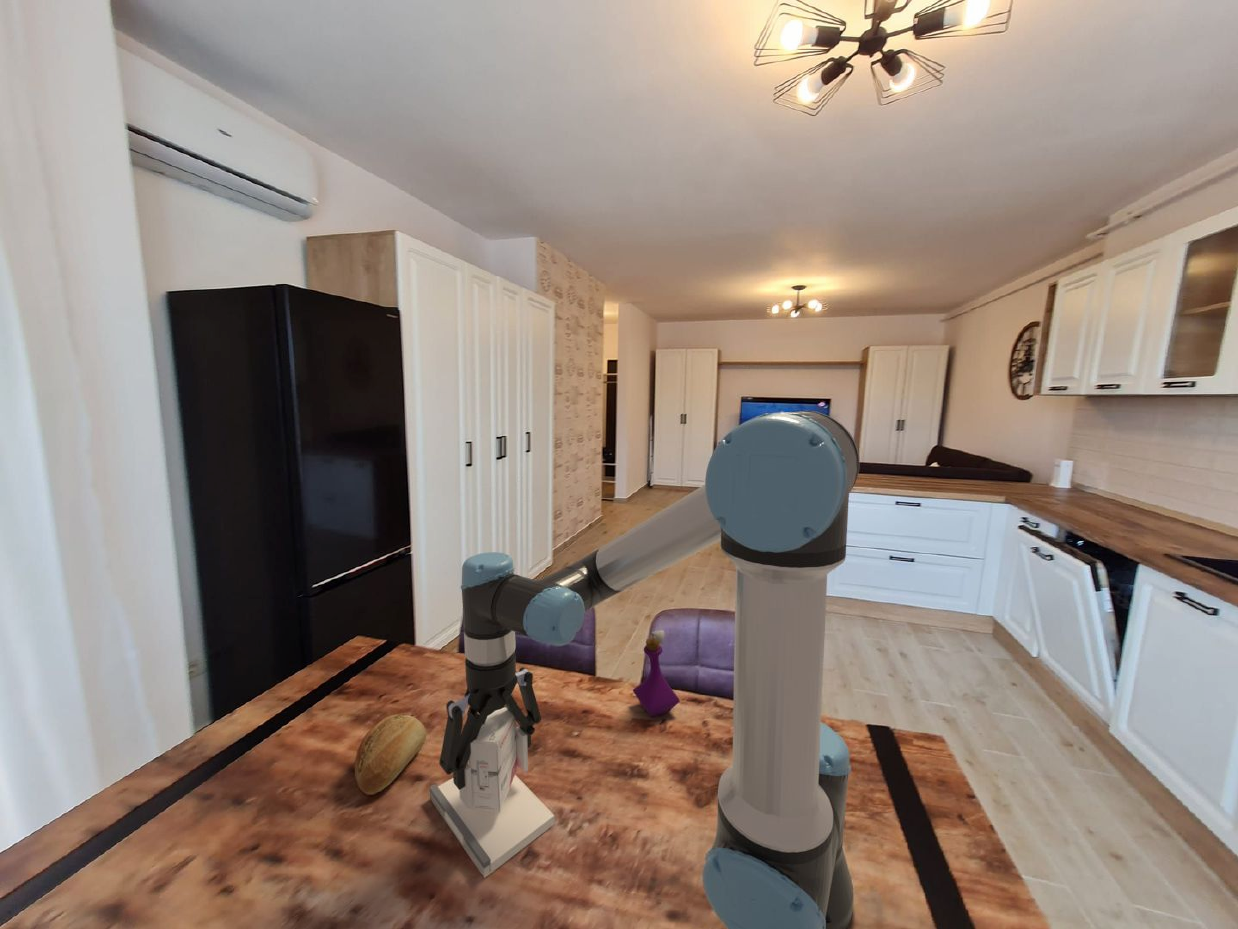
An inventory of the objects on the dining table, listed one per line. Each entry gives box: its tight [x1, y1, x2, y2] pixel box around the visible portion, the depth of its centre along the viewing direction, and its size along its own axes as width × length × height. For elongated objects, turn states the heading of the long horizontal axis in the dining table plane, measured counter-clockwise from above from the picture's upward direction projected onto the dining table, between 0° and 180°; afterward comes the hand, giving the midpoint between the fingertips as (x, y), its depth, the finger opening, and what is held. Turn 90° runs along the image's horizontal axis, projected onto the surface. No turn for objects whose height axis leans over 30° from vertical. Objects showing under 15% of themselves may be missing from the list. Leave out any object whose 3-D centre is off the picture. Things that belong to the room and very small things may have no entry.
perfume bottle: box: [632, 629, 681, 718], centre depth 99 cm, size 8×8×18 cm
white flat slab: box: [429, 774, 555, 879], centre depth 76 cm, size 18×12×2 cm
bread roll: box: [354, 713, 427, 795], centre depth 84 cm, size 10×15×8 cm, turn 173°
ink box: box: [468, 707, 518, 812], centre depth 75 cm, size 9×5×12 cm, turn 174°
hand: (495, 783), depth 76 cm, fingers closed on ink box, 9 cm apart
